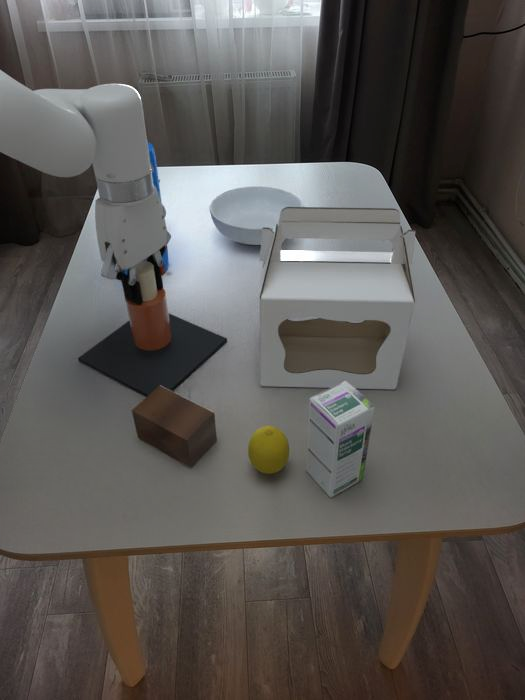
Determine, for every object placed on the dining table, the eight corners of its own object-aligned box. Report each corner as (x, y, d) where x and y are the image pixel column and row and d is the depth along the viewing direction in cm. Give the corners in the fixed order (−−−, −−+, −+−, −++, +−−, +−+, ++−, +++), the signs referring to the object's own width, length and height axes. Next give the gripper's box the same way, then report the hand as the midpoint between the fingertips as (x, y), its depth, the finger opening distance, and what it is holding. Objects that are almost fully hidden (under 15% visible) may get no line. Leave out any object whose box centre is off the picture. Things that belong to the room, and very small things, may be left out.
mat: (78, 361, 94) (77, 358, 94) (150, 308, 106) (150, 305, 105) (159, 403, 87) (158, 400, 86) (227, 341, 98) (227, 338, 97)
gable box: (258, 387, 89) (256, 230, 71) (261, 335, 99) (261, 186, 81) (397, 390, 89) (432, 233, 70) (386, 337, 99) (414, 188, 80)
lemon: (276, 491, 74) (277, 453, 69) (241, 474, 76) (239, 436, 71) (295, 462, 78) (297, 424, 73) (260, 447, 80) (260, 409, 75)
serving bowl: (296, 261, 118) (298, 232, 113) (201, 252, 121) (198, 224, 116) (308, 215, 133) (309, 188, 129) (223, 209, 136) (221, 182, 132)
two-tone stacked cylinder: (136, 348, 97) (87, 317, 84) (169, 288, 99) (126, 249, 86) (164, 361, 94) (118, 332, 81) (198, 299, 96) (158, 261, 83)
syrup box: (330, 499, 73) (340, 426, 64) (303, 469, 77) (309, 395, 68) (363, 479, 76) (377, 406, 66) (335, 451, 79) (345, 377, 70)
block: (137, 438, 81) (131, 410, 78) (164, 412, 85) (160, 384, 81) (191, 468, 77) (187, 440, 73) (217, 440, 81) (214, 412, 77)
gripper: (146, 158, 83) (161, 263, 95) (59, 200, 73) (88, 312, 85) (185, 169, 80) (196, 276, 92) (100, 215, 69) (124, 329, 81)
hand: (144, 292), depth 88 cm, fingers closed on two-tone stacked cylinder, 4 cm apart
